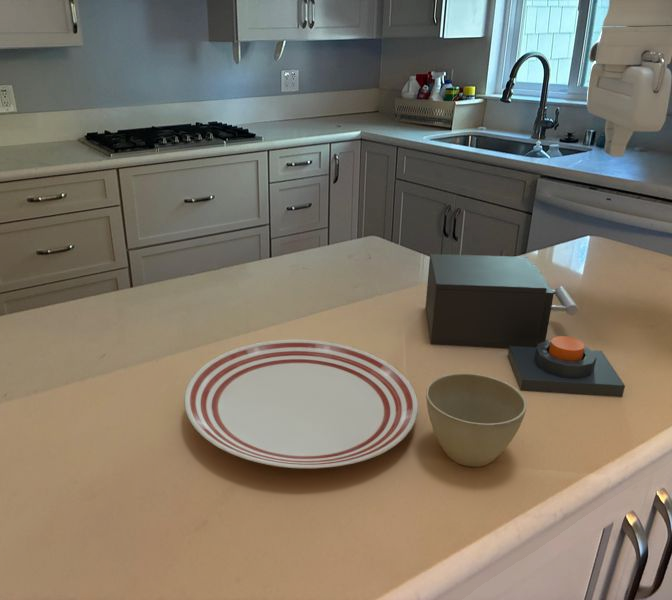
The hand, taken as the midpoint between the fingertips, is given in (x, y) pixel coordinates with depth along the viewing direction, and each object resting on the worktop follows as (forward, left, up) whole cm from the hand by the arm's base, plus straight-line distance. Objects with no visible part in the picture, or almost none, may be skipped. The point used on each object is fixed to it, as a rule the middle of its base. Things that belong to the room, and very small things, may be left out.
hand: (613, 154), depth 87 cm
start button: (+8, +20, -22) cm, 31 cm away
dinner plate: (+41, +33, -25) cm, 58 cm away
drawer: (+13, +7, -24) cm, 28 cm away
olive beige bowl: (+22, +38, -25) cm, 51 cm away
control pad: (+8, +20, -25) cm, 33 cm away
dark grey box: (+17, +7, -25) cm, 31 cm away
